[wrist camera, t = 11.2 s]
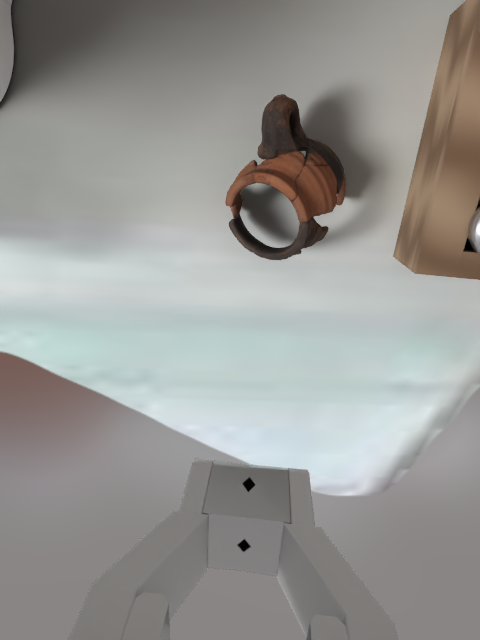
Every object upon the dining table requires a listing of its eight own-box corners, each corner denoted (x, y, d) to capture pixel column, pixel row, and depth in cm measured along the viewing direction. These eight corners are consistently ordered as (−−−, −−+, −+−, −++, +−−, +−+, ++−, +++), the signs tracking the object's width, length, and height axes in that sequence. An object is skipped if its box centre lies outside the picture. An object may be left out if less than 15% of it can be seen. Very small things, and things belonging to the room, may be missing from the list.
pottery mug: (357, 224, 34) (328, 272, 28) (267, 226, 39) (228, 267, 33) (347, 72, 27) (306, 98, 22) (239, 98, 32) (184, 124, 27)
